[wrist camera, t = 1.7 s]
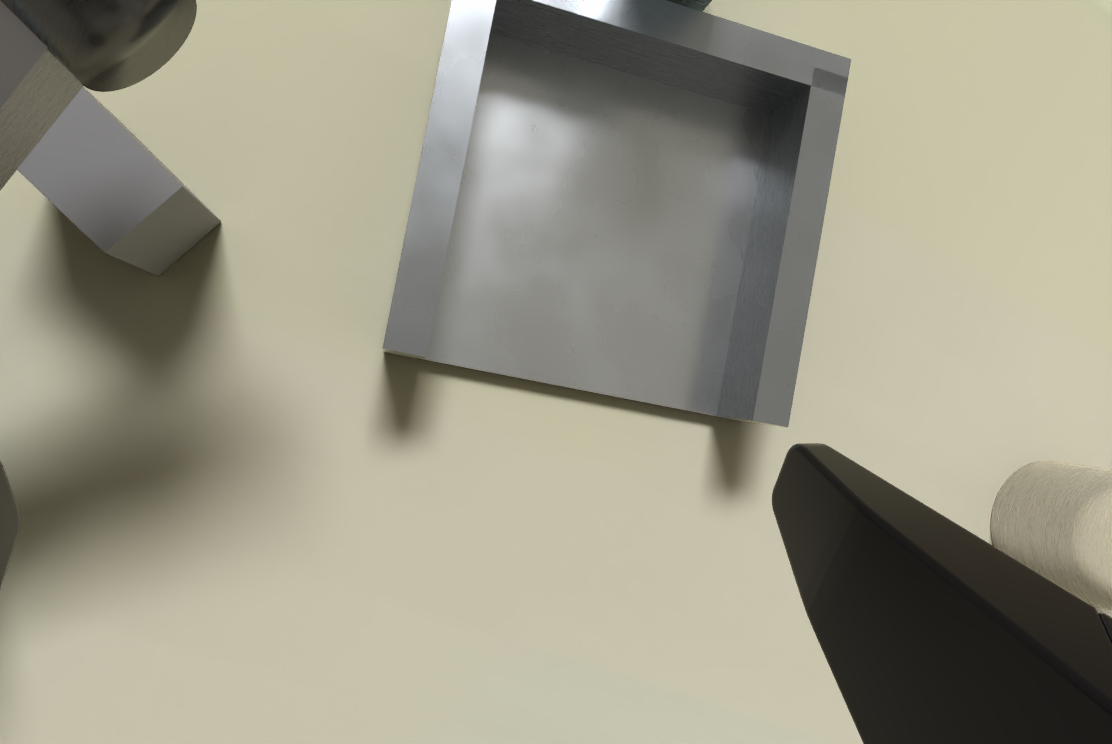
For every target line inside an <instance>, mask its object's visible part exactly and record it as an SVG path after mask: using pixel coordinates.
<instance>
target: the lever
mask: <svg viewBox="0 0 1112 744" xmlns="http://www.w3.org/2000/svg"><path fill="white" fill-rule="evenodd" d="M196 8H197V5H196V0H0V190H1V189H2V188H3V186H4V185H5V184H6V183H7V181H8V180H9V179H10V178H11V176H12V175H13V174H14V172H15V171H16V170H17V169H18V167H19V166H20V165H21V164H22V162H23V161H24V160H25V159H26V157H27V156H28V155H29V154H30V152H31V151H32V150H33V149H34V147H35V146H36V145H37V144H38V142H39V141H40V140H41V139H42V137H43V136H44V135H45V134H46V132H47V131H48V130H49V129H50V127H51V126H52V125H53V124H54V122H55V121H56V120H57V119H58V117H59V116H60V115H61V114H62V112H63V111H64V110H65V109H66V107H67V106H68V105H69V104H70V102H71V101H72V100H73V99H74V97H75V96H76V95H77V94H78V92H79V91H80V90H81V89H82V87H83V86H85V87H86V88H89V89H91V90H94V91H101V92H107V91H115V90H119V89H123V88H126V87H129V86H131V85H134V84H136V83H138V82H140V81H142V80H143V79H145V78H147V77H148V76H150V75H151V74H153V73H154V72H156V71H157V70H158V69H160V68H161V67H162V66H163V65H164V64H165V63H167V62H168V61H169V60H170V59H171V58H172V57H173V56H174V54H175V53H176V52H177V51H178V50H179V48H180V47H181V46H182V45H183V43H184V42H185V40H186V38H187V37H188V35H189V33H190V31H191V29H192V27H193V24H194V21H195V17H196Z"/></svg>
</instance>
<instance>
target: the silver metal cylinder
mask: <svg viewBox="0 0 1112 744" xmlns="http://www.w3.org/2000/svg"><path fill="white" fill-rule="evenodd" d="M991 535H992V541H993V545H994V547H995V548H997V549H999V550H1000V551H1002V552H1004V553H1005V554H1007V555H1009V556H1010V557H1012V558H1014V559H1015V560H1017V561H1019V562H1020V563H1022V564H1023V565H1025V566H1027V567H1028V568H1030V569H1032V570H1033V571H1035V572H1037V573H1038V574H1040V575H1042V576H1043V577H1045V578H1047V579H1048V580H1050V581H1052V582H1053V583H1055V584H1056V585H1058V586H1060V587H1061V588H1063V589H1065V590H1066V591H1068V592H1070V593H1071V594H1073V595H1075V596H1076V597H1078V598H1080V599H1081V600H1083V601H1085V602H1086V603H1088V604H1091V605H1094V606H1097V607H1100V608H1103V609H1107V610H1110V611H1112V469H1107V468H1099V467H1091V466H1083V465H1075V464H1068V463H1060V462H1052V461H1038V462H1034V463H1030V464H1028V465H1025V466H1023V467H1022V468H1020V469H1018V470H1017V471H1016V472H1014V473H1013V474H1012V475H1011V476H1010V477H1009V478H1008V479H1007V480H1006V482H1005V483H1004V485H1003V486H1002V487H1001V489H1000V491H999V493H998V495H997V497H996V500H995V503H994V506H993V510H992V516H991Z"/></svg>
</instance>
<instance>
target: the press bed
mask: <svg viewBox="0 0 1112 744" xmlns="http://www.w3.org/2000/svg"><path fill="white" fill-rule="evenodd" d="M711 1H712V0H452V2H451V7H450V12H449V17H448V22H447V27H446V32H445V37H444V42H443V47H442V52H441V57H440V63H439V68H438V73H437V78H436V83H435V88H434V93H433V98H432V103H431V108H430V113H429V118H428V123H427V128H426V133H425V138H424V143H423V148H422V153H421V158H420V163H419V168H418V173H417V178H416V183H415V188H414V193H413V198H412V203H411V208H410V213H409V218H408V223H407V228H406V234H405V239H404V244H403V249H402V254H401V259H400V264H399V269H398V274H397V279H396V284H395V289H394V294H393V299H392V304H391V309H390V314H389V319H388V324H387V329H386V334H385V339H384V344H383V351H384V352H387V353H392V354H397V355H402V356H407V357H412V358H418V359H423V360H428V361H433V362H438V363H443V364H449V365H454V366H459V367H464V368H469V369H474V370H479V371H485V372H490V373H495V374H500V375H505V376H510V377H516V378H521V379H526V380H531V381H536V382H541V383H546V384H552V385H557V386H562V387H567V388H572V389H577V390H583V391H588V392H593V393H598V394H603V395H608V396H614V397H619V398H624V399H629V400H634V401H639V402H644V403H650V404H655V405H660V406H665V407H670V408H675V409H681V410H686V411H691V412H696V413H701V414H706V415H711V416H717V417H722V418H727V419H732V420H737V421H742V422H750V423H758V424H766V425H774V426H782V427H788V425H789V419H790V413H791V407H792V401H793V395H794V390H795V384H796V378H797V372H798V366H799V361H800V355H801V349H802V343H803V337H804V331H805V326H806V320H807V314H808V308H809V302H810V296H811V291H812V285H813V279H814V273H815V267H816V261H817V256H818V250H819V244H820V238H821V232H822V226H823V221H824V215H825V209H826V203H827V197H828V191H829V186H830V180H831V174H832V168H833V162H834V156H835V151H836V145H837V139H838V133H839V127H840V121H841V116H842V110H843V104H844V98H845V92H846V86H847V81H848V75H849V69H850V63H851V59H848V58H845V57H842V56H839V55H836V54H833V53H830V52H827V51H823V50H820V49H817V48H814V47H811V46H808V45H805V44H802V43H798V42H795V41H792V40H789V39H786V38H783V37H780V36H776V35H773V34H770V33H767V32H764V31H761V30H758V29H755V28H751V27H748V26H745V25H742V24H739V23H736V22H733V21H729V20H726V19H723V18H720V17H717V16H714V15H711V14H708V13H704V12H702V11H703V10H704V9H705V8H706V6H707V5H708V4H709V3H710V2H711Z"/></svg>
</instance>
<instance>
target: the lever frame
mask: <svg viewBox="0 0 1112 744" xmlns="http://www.w3.org/2000/svg"><path fill="white" fill-rule="evenodd" d="M17 170H18V171H19V172H20V173H21V174H22V175H23V176H24V177H25V178H26V179H27V180H28V181H30V182H31V183H32V184H33V185H34V186H35V187H36V188H37V189H38V190H39V191H40V192H41V193H42V194H43V195H44V196H45V197H46V198H47V199H48V200H49V201H51V202H52V203H53V204H54V205H55V206H56V207H57V208H58V209H59V210H60V211H61V212H62V213H63V214H64V215H65V216H66V217H67V218H68V219H69V220H70V221H72V222H73V223H74V224H75V225H76V226H77V227H78V228H79V229H80V230H81V231H82V232H83V233H84V234H85V235H86V236H87V237H88V238H89V239H90V240H91V241H93V242H94V243H95V244H96V245H97V246H98V247H99V248H100V249H101V250H102V251H103V252H104V253H106V254H108V255H111V256H113V257H115V258H117V259H120V260H122V261H124V262H127V263H129V264H131V265H134V266H136V267H138V268H141V269H143V270H145V271H148V272H150V273H152V274H154V275H157V276H159V275H160V274H162V273H163V272H164V271H165V270H166V269H167V268H169V267H170V266H171V265H172V264H173V263H174V262H175V261H177V260H178V259H179V258H180V257H181V256H182V255H183V254H185V253H186V252H187V251H188V250H189V249H190V248H192V247H193V246H194V245H195V244H196V243H197V242H198V241H200V240H201V239H202V238H203V237H204V236H205V235H206V234H208V233H209V232H210V231H211V230H212V229H213V228H215V227H216V226H217V225H218V224H219V223H220V222H221V221H220V220H219V219H218V218H217V217H216V216H215V215H214V214H213V213H212V212H211V211H210V210H209V209H208V208H207V207H206V206H205V205H204V204H203V203H202V202H201V201H200V200H199V199H198V198H197V197H196V196H195V195H194V194H193V193H192V192H191V191H190V190H189V189H188V188H187V187H186V186H185V185H184V184H183V183H182V182H181V181H180V180H179V179H178V178H177V177H176V176H175V175H174V174H173V173H172V172H171V171H170V170H168V169H167V168H166V167H165V166H164V165H163V164H162V163H161V162H160V161H159V160H158V159H157V158H156V157H155V156H154V155H153V154H152V153H151V152H150V151H149V150H148V149H147V148H146V147H145V146H144V145H143V144H142V143H141V142H140V141H139V140H138V139H137V138H136V137H135V136H134V135H133V134H132V133H131V132H130V131H129V130H128V129H127V128H126V127H125V126H124V125H123V124H122V123H121V122H120V121H119V120H118V119H117V118H116V117H115V116H114V115H113V114H112V113H111V112H109V111H108V110H107V109H106V108H105V107H104V106H103V105H102V104H101V103H100V102H99V101H98V100H97V99H96V98H95V97H94V96H92V95H91V94H90V93H89V92H88V91H87V90H86V89H85V88H84V87H82V89H81V90H80V91H79V92H78V94H77V95H76V96H75V97H74V99H73V100H72V101H71V102H70V104H69V105H68V106H67V107H66V109H65V110H64V111H63V112H62V114H61V115H60V116H59V117H58V119H57V120H56V121H55V122H54V124H53V125H52V126H51V127H50V129H49V130H48V131H47V132H46V134H45V135H44V136H43V137H42V139H41V140H40V141H39V142H38V144H37V145H36V146H35V147H34V149H33V150H32V151H31V152H30V154H29V155H28V156H27V157H26V159H25V160H24V161H23V162H22V164H21V165H20V166H19V167H18V169H17Z"/></svg>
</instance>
